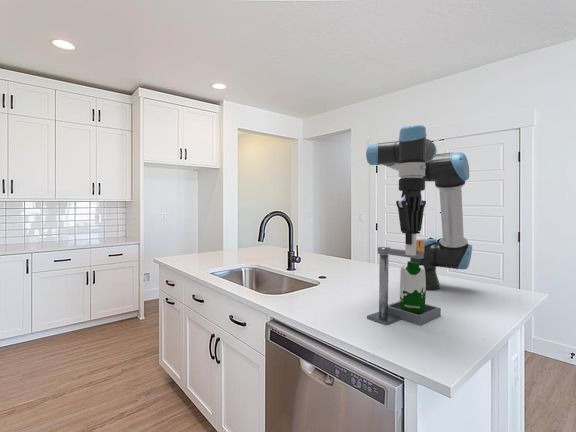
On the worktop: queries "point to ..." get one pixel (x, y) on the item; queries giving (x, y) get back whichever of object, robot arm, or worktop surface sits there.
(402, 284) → the soya milk
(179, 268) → the worktop surface
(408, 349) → the worktop surface
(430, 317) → the socket frame
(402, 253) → the crank handle
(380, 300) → the post
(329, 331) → the worktop surface
